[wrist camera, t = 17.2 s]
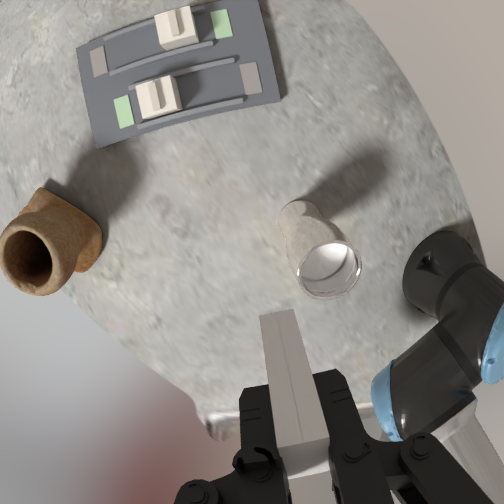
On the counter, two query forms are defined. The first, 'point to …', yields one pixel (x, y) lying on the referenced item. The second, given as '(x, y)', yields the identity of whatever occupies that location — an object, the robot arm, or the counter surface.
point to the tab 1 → (176, 28)
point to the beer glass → (318, 252)
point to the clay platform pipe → (48, 244)
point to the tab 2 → (158, 97)
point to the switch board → (178, 70)
